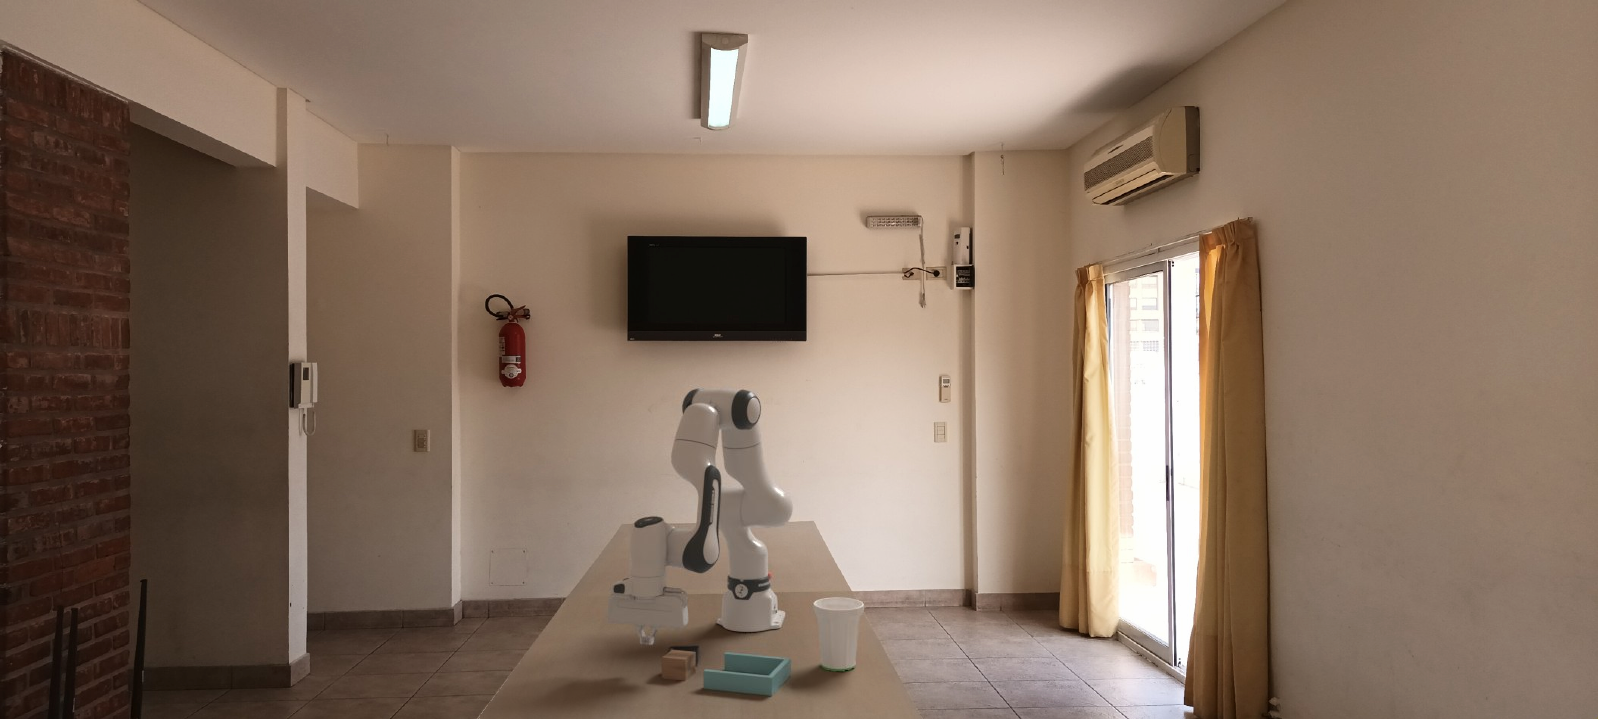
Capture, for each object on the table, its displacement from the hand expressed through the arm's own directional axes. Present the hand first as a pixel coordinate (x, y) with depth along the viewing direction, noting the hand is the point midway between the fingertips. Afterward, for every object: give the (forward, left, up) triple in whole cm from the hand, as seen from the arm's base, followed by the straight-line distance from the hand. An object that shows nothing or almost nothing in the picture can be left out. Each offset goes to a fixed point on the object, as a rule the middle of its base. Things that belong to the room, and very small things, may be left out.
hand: (646, 643), depth 220 cm
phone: (-13, +4, -7) cm, 15 cm away
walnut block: (0, +8, -7) cm, 11 cm away
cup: (-18, +43, -7) cm, 47 cm away
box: (-1, +25, -7) cm, 26 cm away
